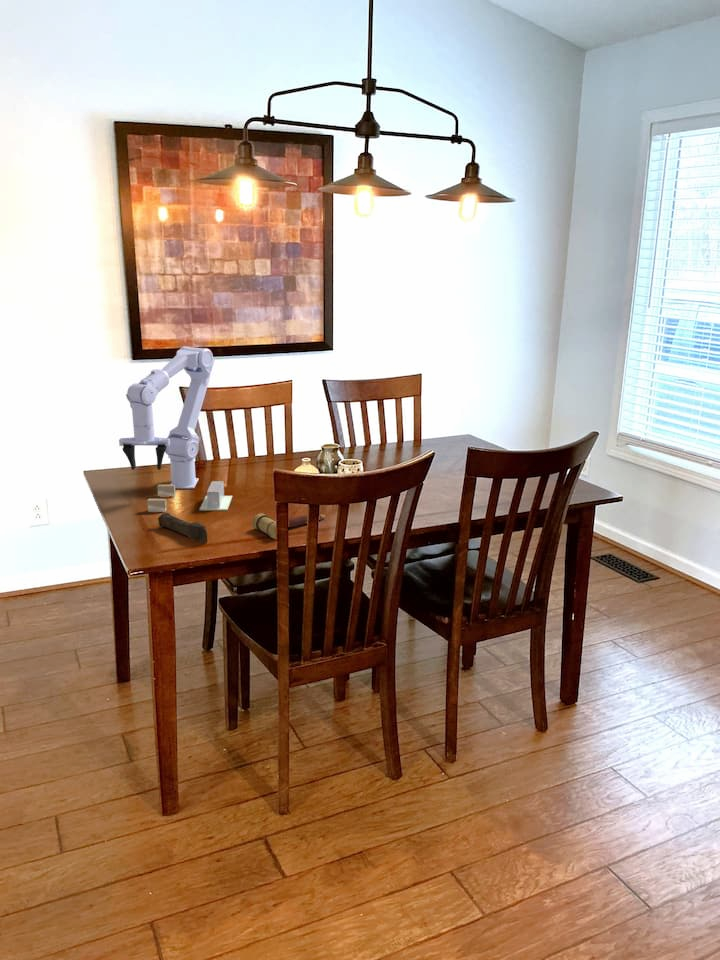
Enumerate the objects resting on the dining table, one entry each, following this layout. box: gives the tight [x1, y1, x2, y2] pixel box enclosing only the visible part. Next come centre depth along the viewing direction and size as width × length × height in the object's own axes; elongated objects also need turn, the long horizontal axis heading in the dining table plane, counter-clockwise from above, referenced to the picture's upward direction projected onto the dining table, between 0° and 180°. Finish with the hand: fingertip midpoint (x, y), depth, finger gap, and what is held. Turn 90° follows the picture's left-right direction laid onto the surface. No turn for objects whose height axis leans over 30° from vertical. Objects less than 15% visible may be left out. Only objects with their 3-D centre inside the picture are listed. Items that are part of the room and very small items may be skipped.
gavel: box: [251, 513, 326, 540], centre depth 214 cm, size 21×5×10 cm
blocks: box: [146, 484, 177, 513], centre depth 232 cm, size 17×5×4 cm, turn 2°
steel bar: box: [206, 480, 225, 508], centre depth 231 cm, size 10×4×5 cm, turn 2°
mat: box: [199, 495, 233, 511], centre depth 231 cm, size 12×8×1 cm, turn 2°
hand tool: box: [157, 512, 208, 544], centre depth 207 cm, size 19×4×5 cm, turn 46°
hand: (146, 468), depth 232 cm, fingers open, 7 cm apart
